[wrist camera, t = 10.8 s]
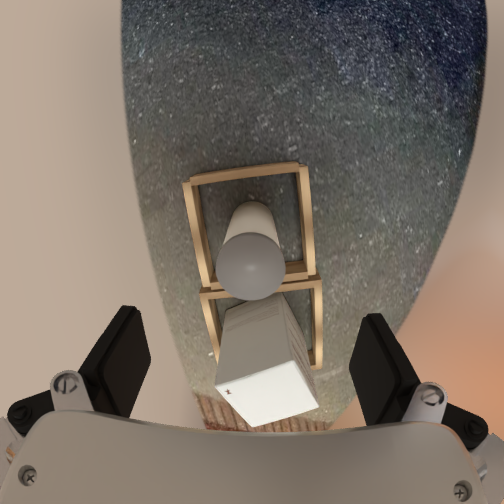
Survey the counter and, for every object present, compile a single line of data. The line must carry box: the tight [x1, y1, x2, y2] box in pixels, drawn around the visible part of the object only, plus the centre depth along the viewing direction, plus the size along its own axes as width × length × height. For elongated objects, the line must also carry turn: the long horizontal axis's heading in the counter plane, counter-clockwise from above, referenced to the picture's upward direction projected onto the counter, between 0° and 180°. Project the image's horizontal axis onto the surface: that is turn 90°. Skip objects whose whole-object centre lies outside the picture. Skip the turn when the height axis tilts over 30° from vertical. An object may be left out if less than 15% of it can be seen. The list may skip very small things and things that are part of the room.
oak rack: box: [182, 161, 322, 370], centre depth 31 cm, size 25×13×3 cm, turn 8°
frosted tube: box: [216, 201, 286, 301], centre depth 25 cm, size 5×5×12 cm
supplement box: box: [215, 292, 319, 427], centre depth 29 cm, size 7×7×13 cm
